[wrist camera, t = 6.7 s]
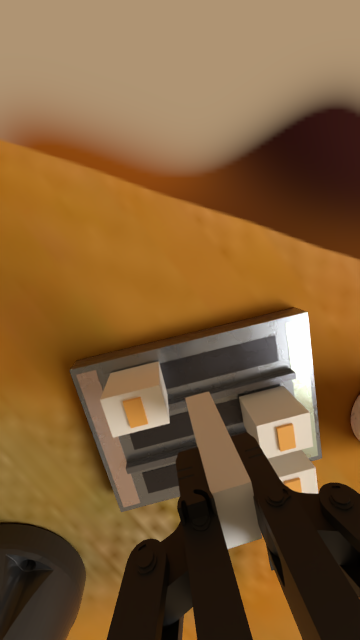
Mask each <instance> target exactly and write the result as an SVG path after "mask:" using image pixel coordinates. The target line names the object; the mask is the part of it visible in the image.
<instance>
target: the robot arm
mask: <svg viewBox="0 0 360 640" xmlns="http://www.w3.org/2000/svg"><path fill="white" fill-rule="evenodd" d="M185 399H186V404H187V408H188V412H189V416H190V420H191V424H192V428H193V432H194V436H195V440H196V444H197V447H195V448H192V449H188V450H185V451H181V452H178V455H177V458H176V461H175V462H176V469H177V476H178V484H179V491H180V498H179V500H178V506H177V509H178V513H179V516H180V520H181V521H180V524H179V526H178V527H177V529H176V530H175V531H174V532H173V533H172V534H171V535H170V536H168V537H167V538H166V539H164V540H163V541H161V542H159V541H158V540H156V539H147V540H143V541H142V542H141V543H139V544H138V545H136V547H135V548H134V549H133V551H132V552H131V554H130V556H129V558H128V561H127V564H126V568H125V572H124V576H123V579H122V583H121V587H120V591H119V595H118V599H117V602H116V606H115V610H114V614H113V618H112V621H111V625H110V629H109V633H108V637H107V640H182V632H183V618H184V614H185V613H186V612H187V611H189V610H190V609H191V608H192V607H193V610H194V618H195V625H196V633H197V640H253V639H252V635H251V632H250V628H249V624H248V621H247V617H246V614H245V610H244V606H243V603H242V599H241V596H240V592H239V589H238V585H237V581H236V578H235V574H234V571H233V567H232V563H231V560H230V556H229V553H228V549H229V548H233V547H236V546H239V545H242V544H245V543H249V542H252V541H255V540H258V539H261V538H262V535H263V537H264V540H265V542H266V546H267V551H268V556H269V562H270V566H271V571H272V570H275V572H276V575H277V577H278V580H279V582H280V585H281V587H282V590H283V592H284V594H285V597H286V599H287V602H288V604H289V607H290V609H291V612H292V614H293V617H294V619H295V622H296V624H297V626H298V629H299V631H300V634H301V636H302V639H303V640H360V599H359V598H360V494H359V493H357V492H356V491H355V490H353V489H352V488H350V487H348V486H347V485H344V484H340V483H328V484H325V485H323V486H322V487H321V489H320V491H319V494H314V493H300V492H296V491H293V490H291V489H290V488H289V487H287V486H286V485H284V484H283V483H282V481H281V480H280V479H279V477H278V475H277V474H276V472H275V470H274V469H273V467H272V465H271V464H270V462H269V460H268V459H267V457H266V456H265V455H264V452H263V451H262V449H261V448H260V446H259V444H258V442H257V441H256V439H255V438H254V437H253V436H251V435H250V434H249V433H247V432H246V433H242V434H239V435H235V436H232V437H230V435H229V433H228V431H227V429H226V427H225V425H224V422H223V420H222V418H221V416H220V414H219V412H218V410H217V407H216V405H215V403H214V401H213V399H212V397H211V395H210V393H209V391H208V392H205V393H201V394H197V395H194V396H190V397H186V398H185ZM261 533H262V535H261ZM85 580H86V573H85V567H84V564H83V561H82V559H81V557H80V556H79V554H78V553H77V551H76V550H75V549H74V548H73V547H72V546H71V545H70V544H69V543H68V542H66V541H65V540H64V539H62V538H61V537H59V536H57V535H56V534H54V533H51V532H49V531H47V530H44V529H41V528H37V527H33V526H28V525H20V524H0V640H66V638H67V636H68V634H69V631H70V629H71V627H72V626H73V624H74V622H75V619H76V617H77V614H78V611H79V608H80V604H81V600H82V595H83V590H84V586H85Z"/></svg>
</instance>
